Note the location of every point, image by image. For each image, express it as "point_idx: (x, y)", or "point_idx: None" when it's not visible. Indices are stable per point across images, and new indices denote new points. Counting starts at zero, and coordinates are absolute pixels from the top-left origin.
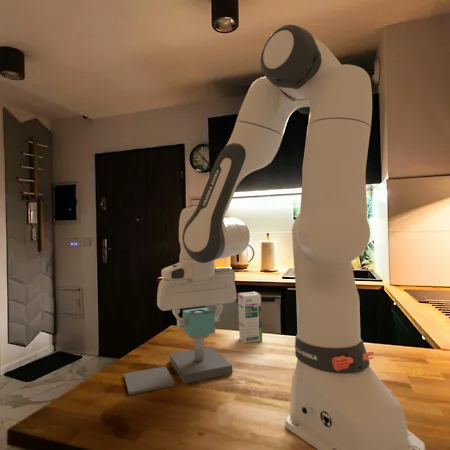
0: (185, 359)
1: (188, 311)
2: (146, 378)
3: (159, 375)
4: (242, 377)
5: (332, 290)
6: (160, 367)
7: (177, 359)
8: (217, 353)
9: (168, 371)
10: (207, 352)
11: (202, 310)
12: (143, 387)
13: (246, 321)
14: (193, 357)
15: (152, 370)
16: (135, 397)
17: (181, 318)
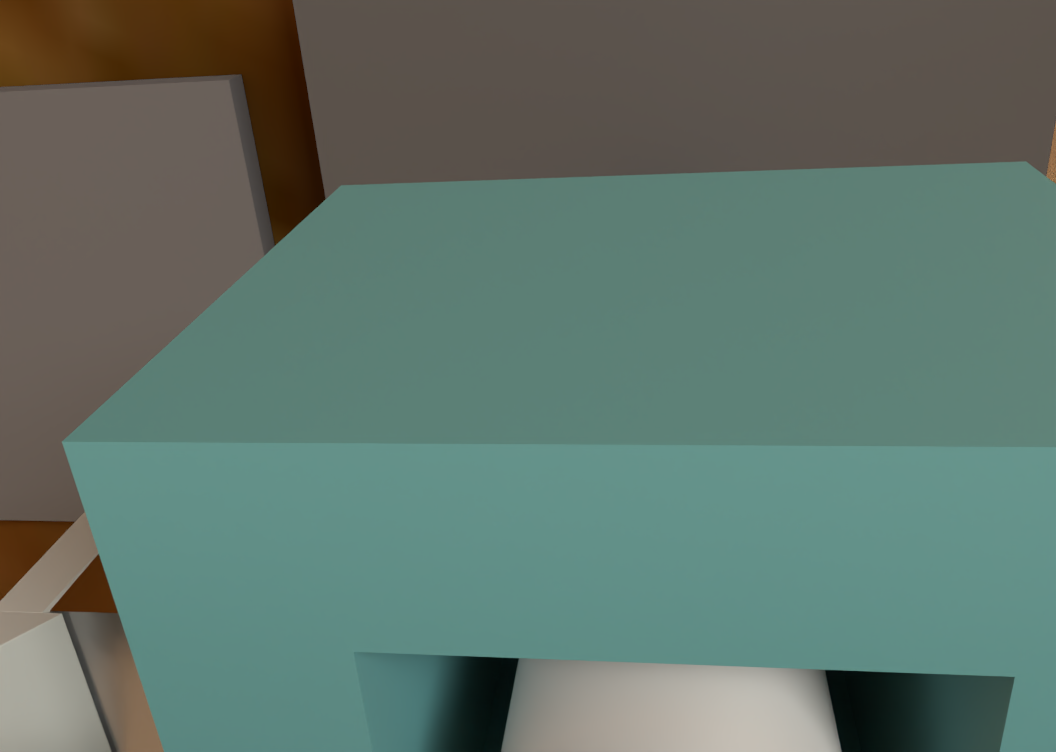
0: (478, 171)
1: (305, 713)
2: (36, 327)
3: (165, 314)
4: None
5: None
6: (165, 98)
7: (367, 125)
8: (1021, 142)
9: (264, 254)
10: (891, 25)
11: (986, 629)
12: (37, 490)
13: None
14: (607, 144)
15: (74, 147)
16: (7, 553)
17: (128, 655)
